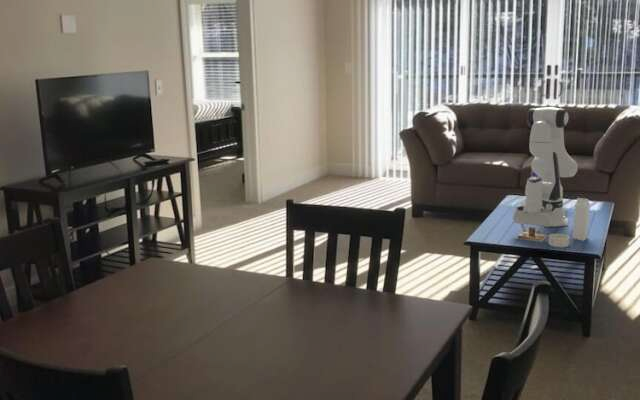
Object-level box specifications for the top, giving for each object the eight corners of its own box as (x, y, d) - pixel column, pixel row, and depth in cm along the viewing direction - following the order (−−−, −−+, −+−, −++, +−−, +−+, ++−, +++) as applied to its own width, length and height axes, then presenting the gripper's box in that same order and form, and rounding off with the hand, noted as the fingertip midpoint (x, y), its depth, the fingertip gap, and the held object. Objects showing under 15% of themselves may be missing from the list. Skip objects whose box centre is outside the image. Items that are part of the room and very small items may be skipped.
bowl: (551, 242, 364) (551, 232, 363) (570, 244, 359) (571, 235, 358) (546, 246, 356) (547, 237, 354) (566, 249, 351) (567, 239, 350)
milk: (576, 236, 373) (578, 196, 368) (587, 238, 369) (590, 198, 364) (572, 239, 368) (575, 198, 363) (584, 240, 364) (587, 200, 360)
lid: (523, 232, 380) (523, 223, 379) (545, 235, 374) (546, 226, 373) (517, 238, 370) (517, 229, 369) (540, 241, 364) (540, 231, 363)
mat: (522, 232, 381) (522, 232, 381) (548, 236, 374) (548, 235, 374) (514, 238, 370) (515, 238, 370) (541, 242, 363) (541, 241, 362)
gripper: (554, 208, 366) (553, 233, 369) (516, 204, 376) (514, 228, 379) (551, 211, 360) (550, 236, 363) (512, 206, 371) (511, 231, 374)
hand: (531, 232), depth 371 cm, fingers open, 7 cm apart
